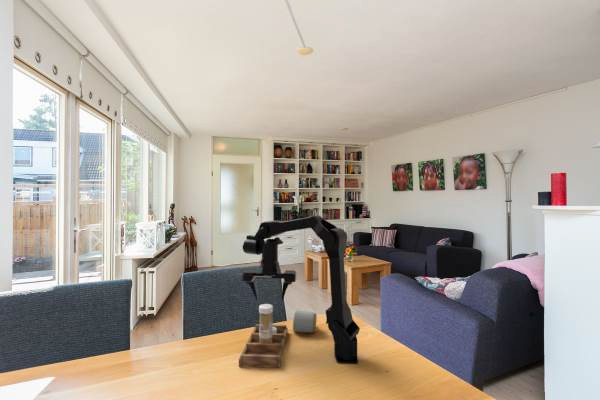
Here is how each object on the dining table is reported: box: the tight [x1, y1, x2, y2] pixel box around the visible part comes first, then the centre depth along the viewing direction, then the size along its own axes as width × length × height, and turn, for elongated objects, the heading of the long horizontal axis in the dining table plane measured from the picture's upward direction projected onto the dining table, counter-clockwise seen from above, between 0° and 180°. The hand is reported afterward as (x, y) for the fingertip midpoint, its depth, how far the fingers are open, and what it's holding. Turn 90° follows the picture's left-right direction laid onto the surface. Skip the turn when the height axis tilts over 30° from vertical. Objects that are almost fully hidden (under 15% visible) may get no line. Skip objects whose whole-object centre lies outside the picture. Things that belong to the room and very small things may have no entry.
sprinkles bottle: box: [258, 303, 274, 344], centre depth 98 cm, size 5×5×14 cm
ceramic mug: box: [292, 309, 317, 334], centre depth 112 cm, size 11×8×8 cm
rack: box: [238, 323, 289, 369], centre depth 99 cm, size 12×23×3 cm, turn 176°
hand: (269, 299), depth 107 cm, fingers open, 9 cm apart
